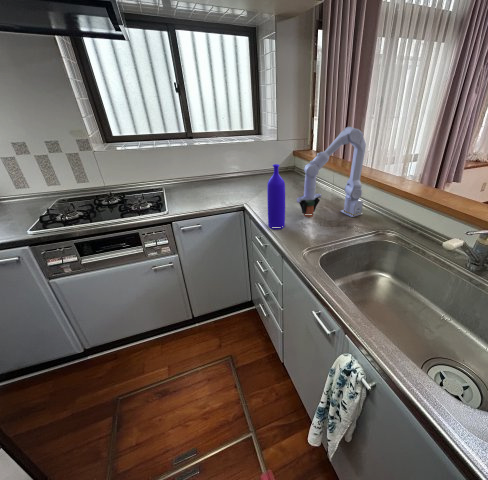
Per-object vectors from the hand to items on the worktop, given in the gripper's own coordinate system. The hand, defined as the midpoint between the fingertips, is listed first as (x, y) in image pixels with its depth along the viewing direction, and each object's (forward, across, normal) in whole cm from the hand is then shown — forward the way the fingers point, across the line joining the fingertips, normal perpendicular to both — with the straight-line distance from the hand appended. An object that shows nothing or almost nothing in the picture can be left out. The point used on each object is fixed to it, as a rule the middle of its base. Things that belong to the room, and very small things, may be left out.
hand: (308, 212), depth 143 cm
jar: (+2, 0, 0) cm, 2 cm away
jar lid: (-6, 0, 0) cm, 6 cm away
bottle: (+2, -22, -3) cm, 22 cm away
